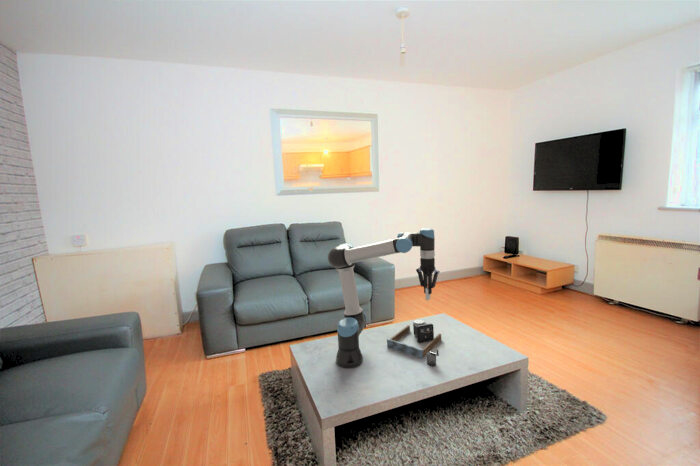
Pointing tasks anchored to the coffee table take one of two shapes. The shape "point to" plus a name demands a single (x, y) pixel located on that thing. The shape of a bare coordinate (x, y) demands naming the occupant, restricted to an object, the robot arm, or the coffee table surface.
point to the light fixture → (423, 331)
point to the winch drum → (431, 358)
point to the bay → (410, 349)
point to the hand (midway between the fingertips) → (427, 299)
